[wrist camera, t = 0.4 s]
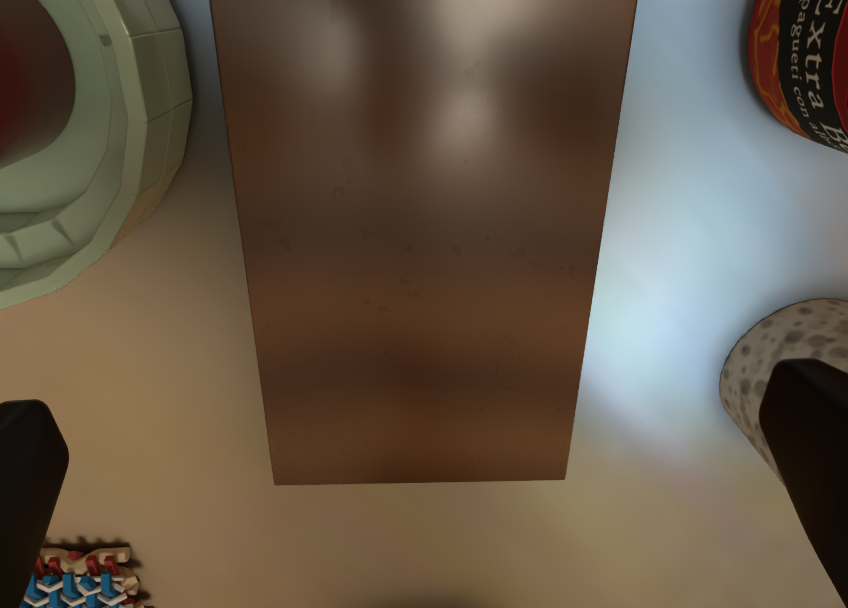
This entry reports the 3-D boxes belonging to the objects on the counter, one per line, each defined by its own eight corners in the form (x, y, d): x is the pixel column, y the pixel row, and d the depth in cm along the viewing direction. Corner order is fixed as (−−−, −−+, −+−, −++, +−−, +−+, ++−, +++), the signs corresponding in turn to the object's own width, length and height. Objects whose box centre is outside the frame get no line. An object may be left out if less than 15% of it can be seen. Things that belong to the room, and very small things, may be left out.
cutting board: (557, 456, 27) (565, 480, 25) (280, 460, 26) (273, 486, 25) (638, -126, 17) (659, -136, 16) (205, -134, 17) (188, -145, 15)
